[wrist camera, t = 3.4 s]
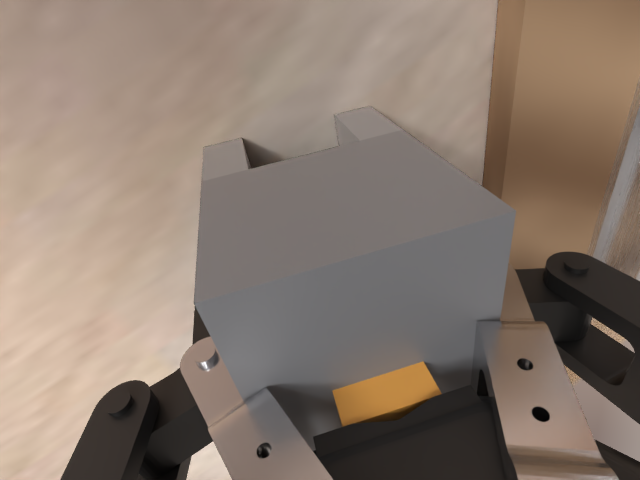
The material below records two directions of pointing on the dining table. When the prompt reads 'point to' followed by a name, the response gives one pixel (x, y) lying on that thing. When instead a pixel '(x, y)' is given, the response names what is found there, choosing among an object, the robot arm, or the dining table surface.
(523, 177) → the board
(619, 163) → the rail
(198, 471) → the dining table surface
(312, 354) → the block
